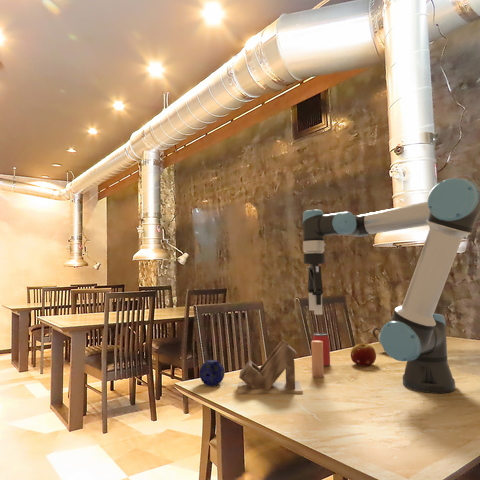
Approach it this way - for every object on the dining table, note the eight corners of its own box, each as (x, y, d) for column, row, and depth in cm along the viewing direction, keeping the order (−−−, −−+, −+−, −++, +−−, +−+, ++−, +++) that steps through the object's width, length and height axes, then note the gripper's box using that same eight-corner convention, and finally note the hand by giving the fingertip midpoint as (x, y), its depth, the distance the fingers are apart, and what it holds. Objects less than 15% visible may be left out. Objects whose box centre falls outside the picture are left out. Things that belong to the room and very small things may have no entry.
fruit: (355, 368, 153) (354, 346, 153) (348, 362, 162) (347, 342, 162) (380, 367, 153) (379, 346, 154) (371, 362, 162) (370, 342, 163)
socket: (237, 399, 123) (236, 345, 124) (238, 389, 134) (238, 339, 135) (303, 399, 122) (301, 344, 124) (299, 388, 133) (297, 338, 135)
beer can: (325, 367, 155) (324, 335, 156) (310, 365, 159) (309, 334, 160) (333, 364, 160) (331, 333, 161) (317, 362, 164) (316, 332, 165)
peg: (326, 376, 141) (325, 341, 142) (316, 378, 140) (315, 342, 141) (319, 374, 145) (318, 340, 146) (310, 375, 143) (309, 341, 144)
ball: (206, 380, 139) (206, 358, 140) (227, 381, 137) (226, 359, 138) (196, 386, 132) (196, 363, 132) (218, 388, 130) (218, 364, 130)
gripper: (330, 251, 133) (332, 316, 132) (319, 254, 158) (320, 308, 157) (307, 251, 134) (309, 316, 132) (299, 254, 158) (301, 308, 157)
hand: (315, 312), depth 144 cm, fingers open, 13 cm apart
